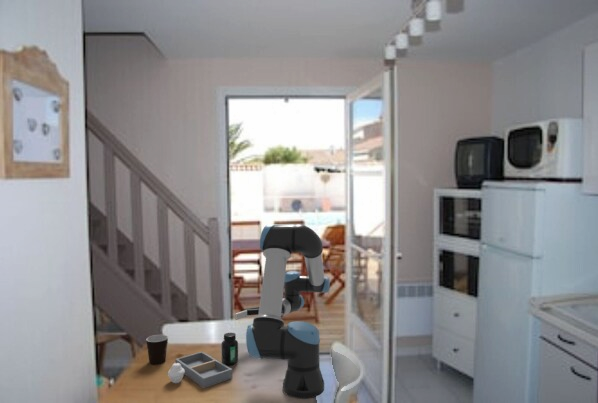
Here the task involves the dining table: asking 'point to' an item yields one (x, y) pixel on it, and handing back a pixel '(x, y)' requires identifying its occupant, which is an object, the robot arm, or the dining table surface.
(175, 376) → the white lumpy chunk
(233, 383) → the dining table surface
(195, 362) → the caddy
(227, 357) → the supplement bottle
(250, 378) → the dining table surface
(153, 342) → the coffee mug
